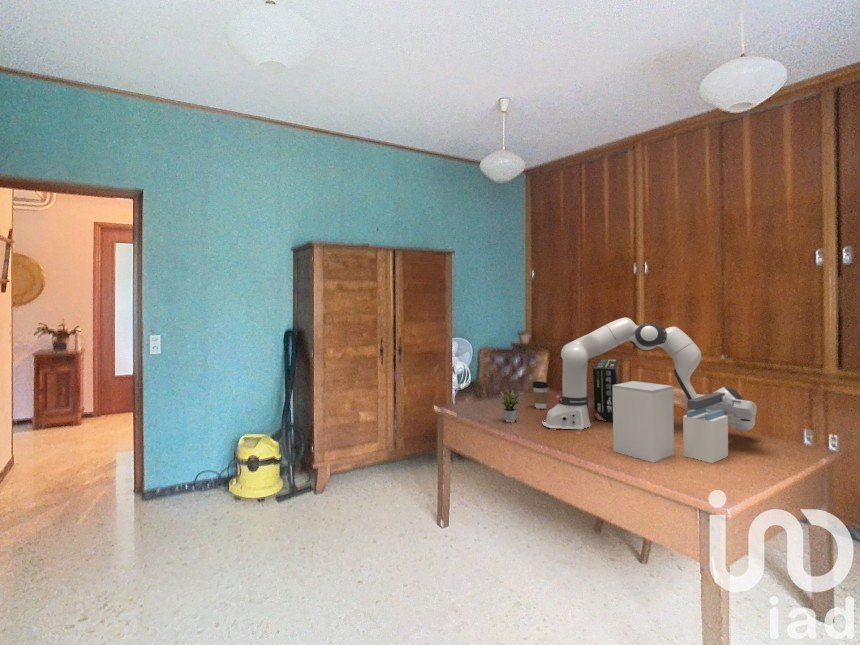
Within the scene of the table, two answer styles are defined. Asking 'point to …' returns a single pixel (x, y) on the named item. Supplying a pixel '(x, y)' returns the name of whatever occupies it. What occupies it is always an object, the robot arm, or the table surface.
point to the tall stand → (643, 420)
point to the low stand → (705, 435)
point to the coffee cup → (540, 394)
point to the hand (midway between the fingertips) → (715, 396)
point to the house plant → (510, 406)
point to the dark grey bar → (705, 401)
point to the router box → (604, 388)
